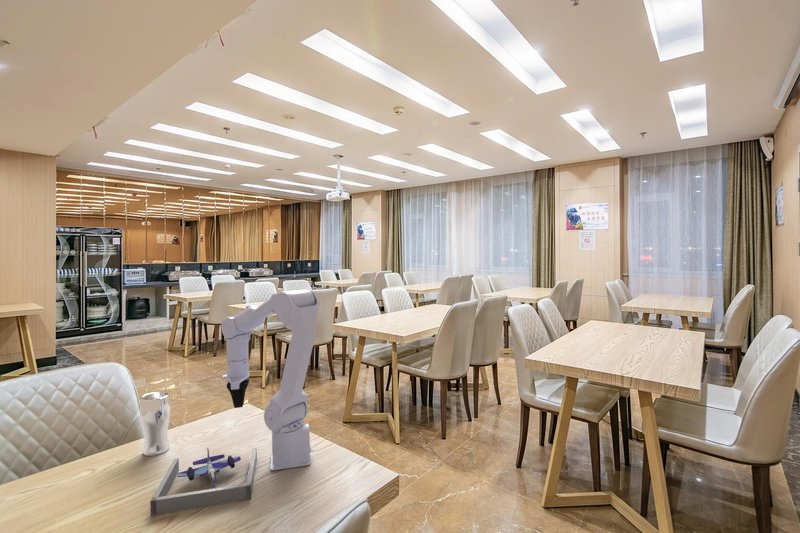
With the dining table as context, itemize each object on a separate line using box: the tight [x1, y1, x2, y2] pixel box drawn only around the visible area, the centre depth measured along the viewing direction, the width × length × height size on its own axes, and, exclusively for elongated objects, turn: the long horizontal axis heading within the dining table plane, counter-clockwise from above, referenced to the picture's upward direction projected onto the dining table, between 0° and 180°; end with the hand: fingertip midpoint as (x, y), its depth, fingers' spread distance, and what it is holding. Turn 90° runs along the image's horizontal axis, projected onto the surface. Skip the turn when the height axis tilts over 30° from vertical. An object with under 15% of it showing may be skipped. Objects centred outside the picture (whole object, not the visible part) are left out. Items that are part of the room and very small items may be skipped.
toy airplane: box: [176, 447, 242, 489], centre depth 92 cm, size 13×14×4 cm
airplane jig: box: [150, 447, 258, 516], centre depth 90 cm, size 19×17×3 cm
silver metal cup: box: [139, 391, 171, 457], centre depth 106 cm, size 7×7×15 cm
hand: (238, 406), depth 111 cm, fingers closed
